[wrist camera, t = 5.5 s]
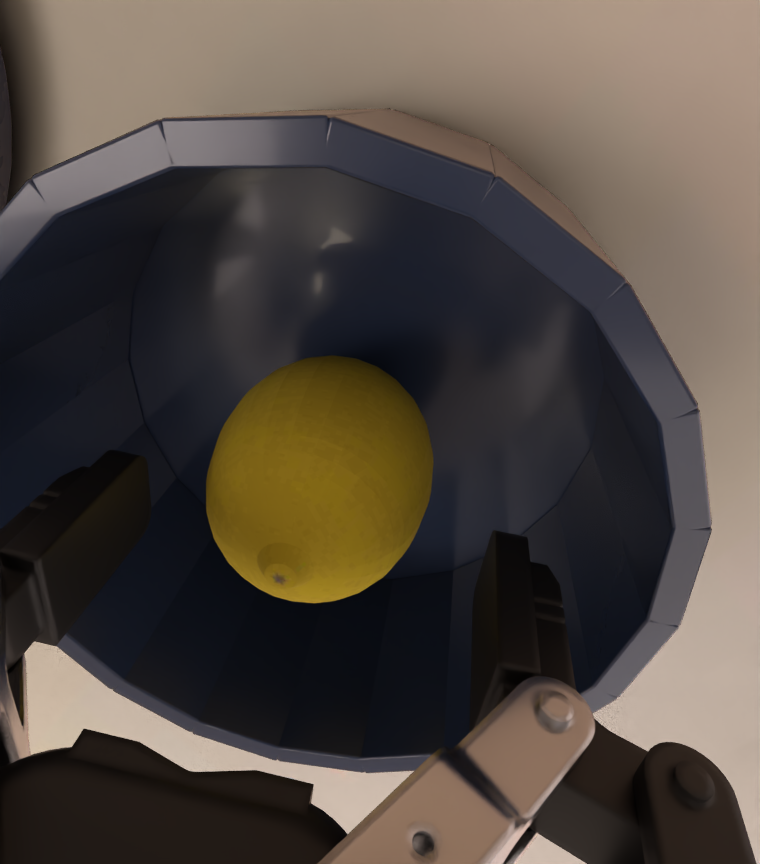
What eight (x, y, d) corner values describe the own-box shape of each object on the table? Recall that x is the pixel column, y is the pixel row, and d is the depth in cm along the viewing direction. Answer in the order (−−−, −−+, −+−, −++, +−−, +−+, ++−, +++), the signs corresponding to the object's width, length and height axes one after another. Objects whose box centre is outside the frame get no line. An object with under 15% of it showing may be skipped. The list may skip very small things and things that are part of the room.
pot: (20, 332, 19) (-199, 443, 13) (414, -59, 13) (352, -208, 7) (325, 636, 25) (272, 820, 18) (717, 466, 18) (843, 661, 12)
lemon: (239, 353, 18) (92, 506, 11) (400, 289, 16) (344, 424, 10) (317, 491, 20) (234, 689, 14) (467, 448, 19) (459, 650, 12)
